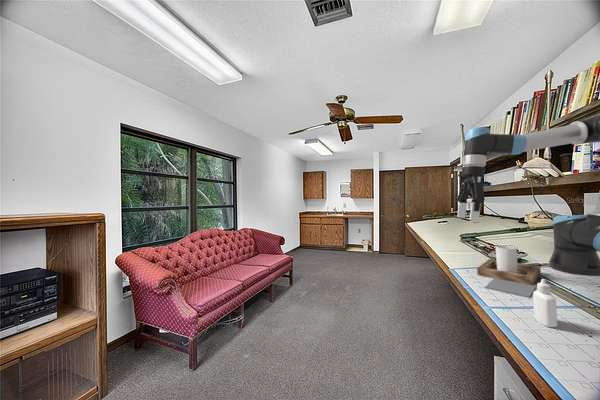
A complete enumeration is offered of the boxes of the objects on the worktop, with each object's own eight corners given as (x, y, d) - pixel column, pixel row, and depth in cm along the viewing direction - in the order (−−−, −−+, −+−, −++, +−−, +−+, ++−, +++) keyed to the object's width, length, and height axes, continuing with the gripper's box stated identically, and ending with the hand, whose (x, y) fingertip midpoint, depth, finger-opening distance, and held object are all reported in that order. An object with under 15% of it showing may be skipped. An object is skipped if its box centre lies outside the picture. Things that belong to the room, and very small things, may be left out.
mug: (515, 279, 93) (514, 249, 93) (494, 275, 98) (493, 247, 98) (522, 273, 99) (521, 245, 98) (502, 269, 104) (500, 243, 104)
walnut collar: (540, 273, 97) (540, 266, 97) (532, 285, 87) (532, 277, 86) (489, 265, 110) (489, 259, 110) (477, 274, 100) (477, 268, 100)
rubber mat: (536, 287, 85) (535, 286, 85) (529, 297, 78) (529, 296, 78) (494, 279, 95) (494, 278, 95) (485, 287, 88) (484, 286, 88)
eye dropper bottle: (556, 320, 65) (554, 278, 64) (557, 329, 61) (555, 284, 60) (534, 315, 68) (532, 274, 67) (533, 324, 64) (531, 280, 64)
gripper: (452, 170, 108) (447, 215, 108) (475, 161, 84) (468, 219, 84) (471, 171, 105) (466, 218, 106) (500, 162, 81) (493, 222, 82)
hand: (467, 218), depth 95 cm, fingers open, 13 cm apart
